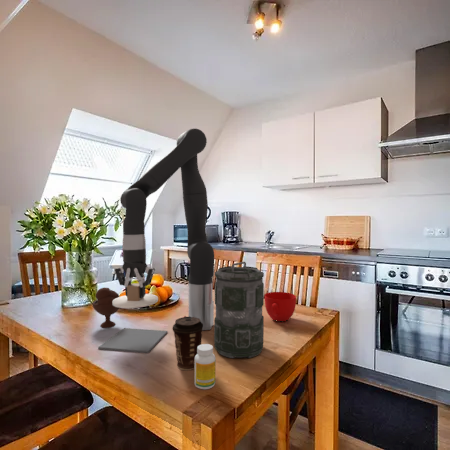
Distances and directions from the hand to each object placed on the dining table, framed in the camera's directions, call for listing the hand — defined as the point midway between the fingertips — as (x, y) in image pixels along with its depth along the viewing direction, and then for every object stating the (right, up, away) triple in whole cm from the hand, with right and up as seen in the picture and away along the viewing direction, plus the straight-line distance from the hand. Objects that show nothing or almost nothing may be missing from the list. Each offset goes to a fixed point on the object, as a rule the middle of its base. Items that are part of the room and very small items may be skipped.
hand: (135, 297), depth 104 cm
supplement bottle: (+26, -16, -27) cm, 40 cm away
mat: (0, -15, +1) cm, 15 cm away
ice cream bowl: (-15, -15, +15) cm, 26 cm away
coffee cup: (+20, -16, -17) cm, 30 cm away
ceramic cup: (+53, -15, +21) cm, 59 cm away
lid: (0, -1, 0) cm, 2 cm away
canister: (+35, -15, -6) cm, 39 cm away
